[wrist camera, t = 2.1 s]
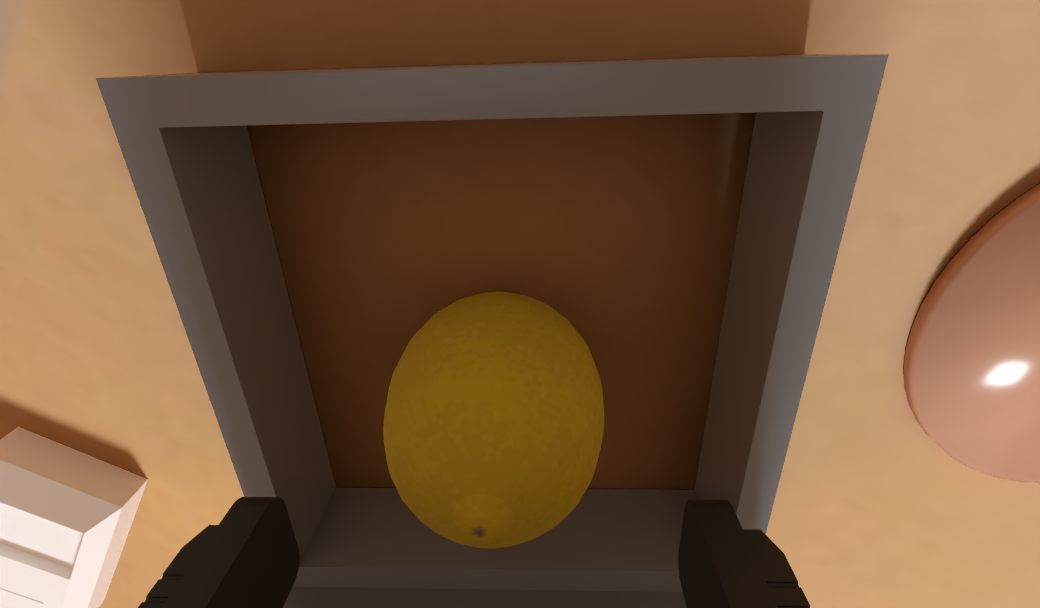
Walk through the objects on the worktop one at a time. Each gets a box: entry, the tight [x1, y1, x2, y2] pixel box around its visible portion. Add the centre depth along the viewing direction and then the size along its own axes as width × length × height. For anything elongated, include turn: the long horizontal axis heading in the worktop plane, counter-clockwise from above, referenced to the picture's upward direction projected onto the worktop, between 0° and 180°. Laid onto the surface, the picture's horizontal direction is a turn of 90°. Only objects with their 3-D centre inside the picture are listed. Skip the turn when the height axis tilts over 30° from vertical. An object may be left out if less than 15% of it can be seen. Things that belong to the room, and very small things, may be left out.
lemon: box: [383, 291, 605, 549], centre depth 13 cm, size 6×6×8 cm
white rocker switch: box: [0, 427, 148, 608], centre depth 21 cm, size 5×9×3 cm, turn 149°
